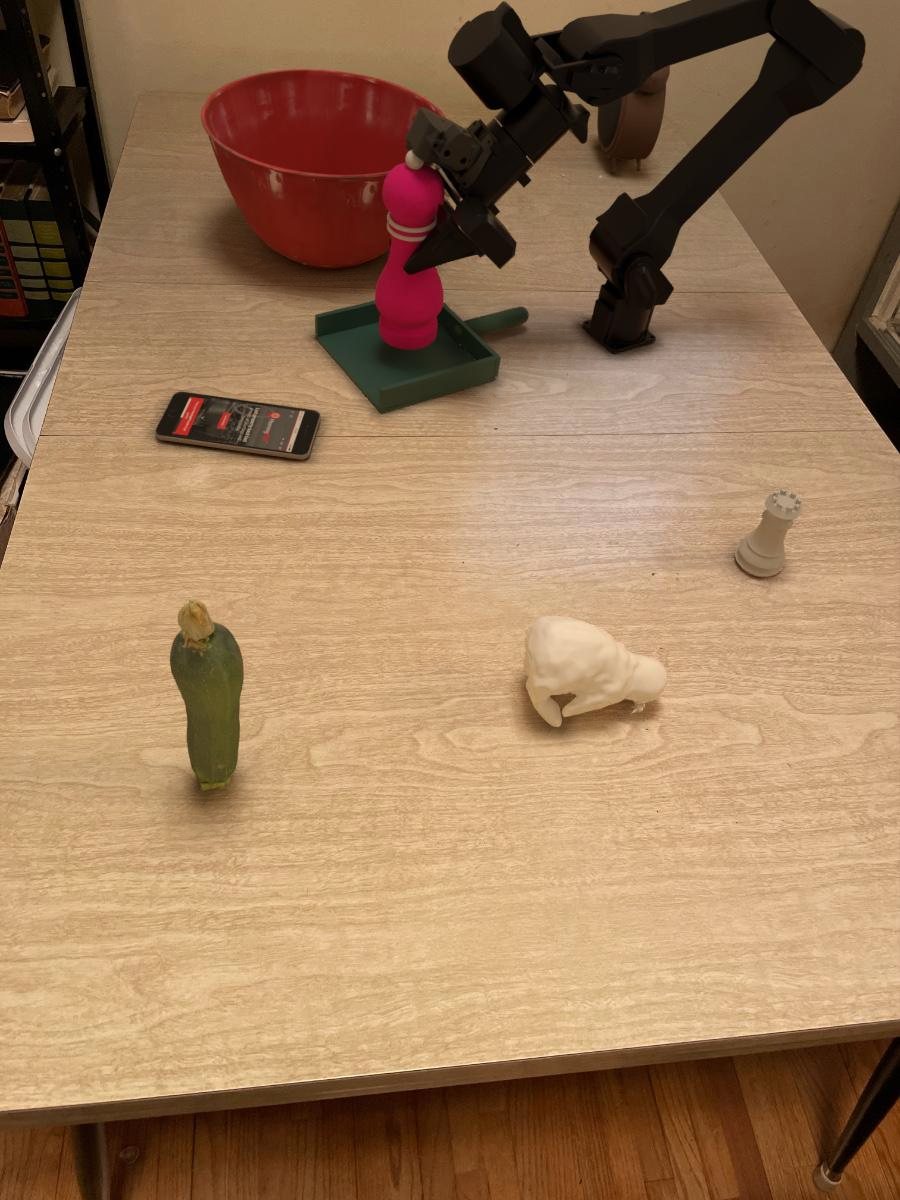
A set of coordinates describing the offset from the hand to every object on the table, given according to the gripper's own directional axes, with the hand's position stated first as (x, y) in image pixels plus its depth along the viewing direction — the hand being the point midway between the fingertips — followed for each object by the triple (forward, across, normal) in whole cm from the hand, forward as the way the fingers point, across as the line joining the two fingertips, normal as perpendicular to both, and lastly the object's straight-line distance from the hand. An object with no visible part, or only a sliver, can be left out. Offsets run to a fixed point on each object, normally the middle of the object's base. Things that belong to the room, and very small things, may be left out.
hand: (398, 259), depth 97 cm
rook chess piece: (-8, +38, +26) cm, 47 cm away
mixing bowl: (+9, -26, +8) cm, 29 cm away
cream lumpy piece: (+7, +48, +10) cm, 50 cm away
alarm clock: (-25, -44, +43) cm, 67 cm away
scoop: (+4, -1, +13) cm, 13 cm away
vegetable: (+27, +48, -11) cm, 56 cm away
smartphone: (+21, +9, -5) cm, 24 cm away
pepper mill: (+5, 0, +8) cm, 9 cm away
